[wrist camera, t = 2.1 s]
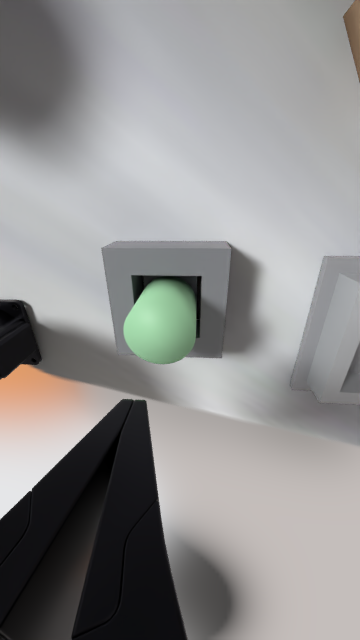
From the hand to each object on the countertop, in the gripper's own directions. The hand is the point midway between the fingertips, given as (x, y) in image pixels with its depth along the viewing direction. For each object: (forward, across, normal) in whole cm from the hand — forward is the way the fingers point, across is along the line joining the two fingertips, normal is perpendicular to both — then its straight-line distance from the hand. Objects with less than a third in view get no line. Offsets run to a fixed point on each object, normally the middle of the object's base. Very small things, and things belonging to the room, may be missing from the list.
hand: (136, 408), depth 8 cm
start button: (+10, 0, 0) cm, 10 cm away
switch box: (+12, 0, 0) cm, 12 cm away
